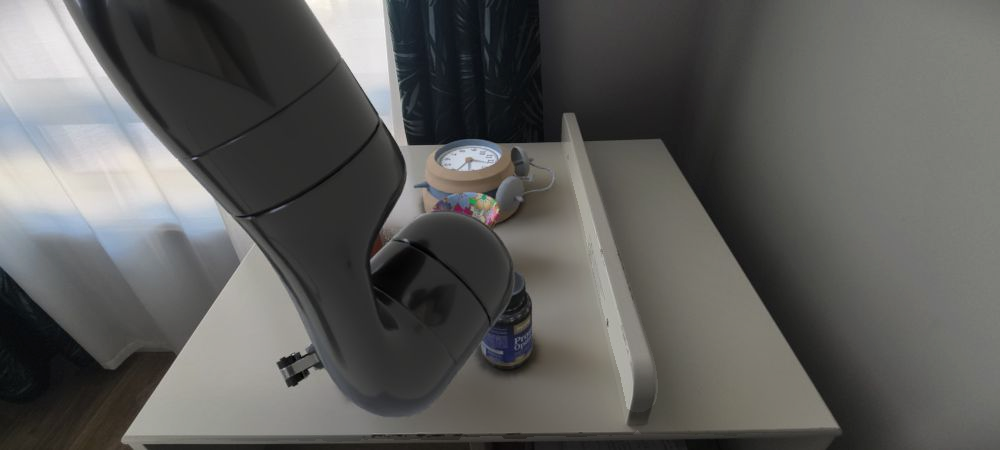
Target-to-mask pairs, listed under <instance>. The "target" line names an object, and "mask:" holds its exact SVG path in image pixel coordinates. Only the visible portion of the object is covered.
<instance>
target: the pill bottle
mask: <svg viewBox="0 0 1000 450" xmlns="http://www.w3.org/2000/svg"><path fill="white" fill-rule="evenodd" d="M514 275H515V284H514V290H513V295H512V297H511V300H510V302H509V304H508V306H507V308H506V310H505V311H504V313H503V314H502V316H501V317H500V318H499V320H498V321H497V322H496V324H495V325H494V326H493V328H492V329H491V330H489V333H488V334H487V335H486V337H485V338H484V339H483V341H482V342H481V343H480V346H481V347H480V348H481V354H482V356H483V358H484V360H485V361H486V363H488V364H489V365H491V366H492V367H494V368H497V369H500V370H514V369H517V368H520V367H521V366H523V365H524V364H526V363H527V361H528V360H529V359H530V358H531V355H532V352H533V300H532V298H531V296H530V294H529V292H528V291H527V290H526V289H527V288H526V287H527V286H526V279H525V277H524V275H522V273H520V272H519V271H517V270H515V269H514Z"/></svg>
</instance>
